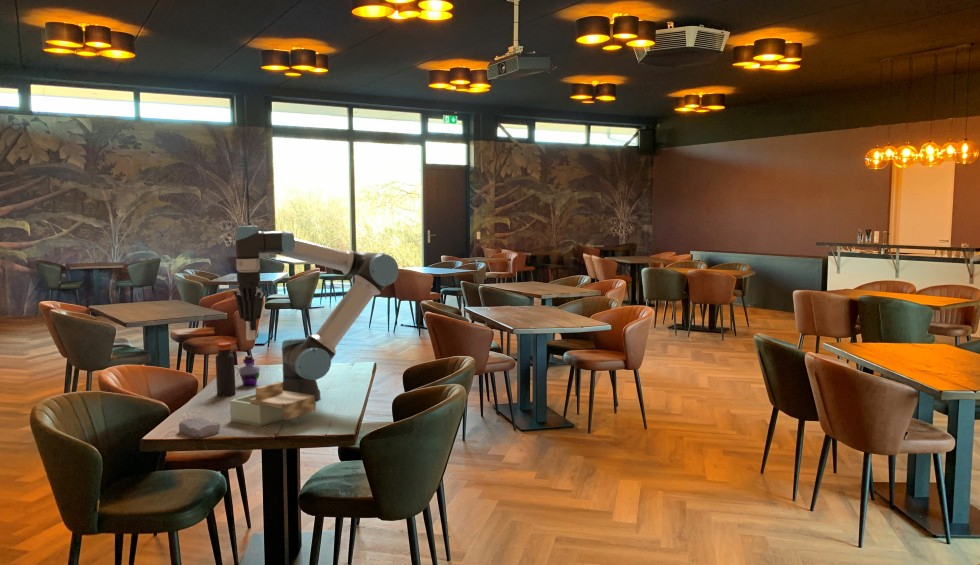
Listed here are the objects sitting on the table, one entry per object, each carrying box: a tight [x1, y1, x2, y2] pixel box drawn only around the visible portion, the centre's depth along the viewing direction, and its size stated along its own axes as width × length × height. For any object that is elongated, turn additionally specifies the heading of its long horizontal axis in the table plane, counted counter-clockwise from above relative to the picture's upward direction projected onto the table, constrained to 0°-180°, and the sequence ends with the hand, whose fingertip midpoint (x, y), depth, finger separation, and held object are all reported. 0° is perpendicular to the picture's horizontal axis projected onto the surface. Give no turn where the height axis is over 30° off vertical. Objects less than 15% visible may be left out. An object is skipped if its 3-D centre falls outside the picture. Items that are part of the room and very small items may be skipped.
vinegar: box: [215, 342, 237, 397], centre depth 277 cm, size 7×7×20 cm
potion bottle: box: [238, 355, 261, 387], centre depth 294 cm, size 9×9×12 cm
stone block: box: [178, 417, 221, 439], centre depth 228 cm, size 12×5×10 cm
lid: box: [249, 381, 316, 421], centre depth 237 cm, size 14×16×8 cm
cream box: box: [229, 393, 284, 427], centre depth 243 cm, size 14×14×7 cm
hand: (250, 339), depth 245 cm, fingers closed
